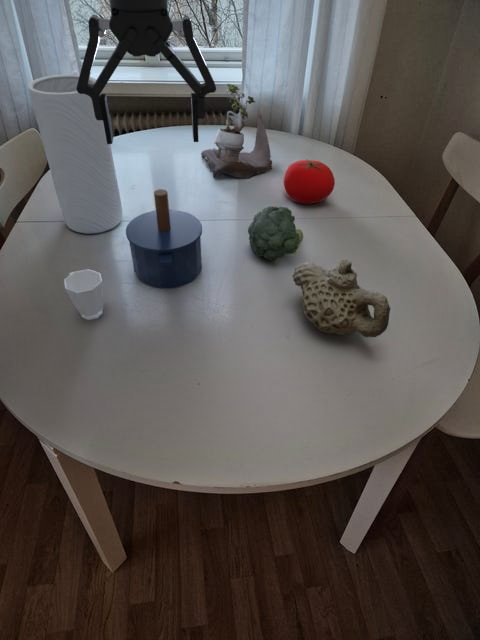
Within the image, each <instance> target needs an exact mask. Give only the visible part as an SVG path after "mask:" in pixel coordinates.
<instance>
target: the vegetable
mask: <svg viewBox="0 0 480 640" xmlns="http://www.w3.org/2000/svg"><path fill="white" fill-rule="evenodd" d="M292 213H293V212H292V210H291V209H289V208H288V207H286V206H272V205H271V206H266V207H264V208H263V209H262V211H258V212H257V213H256V214H255V215H254V217H253V219H252V221H251V223H250V224H249V226H248V228H247V232H248V235H249V236H248V240H249V247H250V250H251V251H252V253H254V254H255V255H256V256H258V257H262V256H263V257H264V258H266V259H267V260H270V261H273V262H275V261H277V260H279V259H281V258H283V256H284V255H294V254H296V252H297V249H298V248H299V245H301V243H302V242H303V240H304V233H303V231H302V230H301V228H297V227H296V224H295V219H296V216H295V215H293V214H292Z"/></svg>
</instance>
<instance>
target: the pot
mask: <svg viewBox="0 0 480 640" xmlns="http://www.w3.org/2000/svg"><path fill="white" fill-rule="evenodd" d="M201 237H202V236H201ZM201 237H200V238H199V239H198V240H197V241H196V242H195V243H194V244H192V245H190V246H189V247H186V248H184V249H181V250H177V251H172V252H151V251H146V250H143V249H140V248H138V247H136V246H134V245H133V244H131V243H130V242H129V241H128V242H129V243H128V244H129V249H130V254H131V259H132V266H133V271H134V274H135V276H136V278H137V279H138V280H139V281H140V282H141V283H142V284H144V285H146V286H148V287H152V288H156V289H163V290H164V289H165V290H166V289H176V288H180V287H183V286H186V285H189V284H191V283H192V282H193V281H194V280H196V279H197V278H198V277H199V275H200V274H201V272H202V267H203V266H202V243H201V242H202V241H201Z"/></svg>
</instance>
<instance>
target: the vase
mask: <svg viewBox="0 0 480 640" xmlns="http://www.w3.org/2000/svg"><path fill="white" fill-rule="evenodd" d="M79 76H80V74H54V75H48V76H43V77H39V78H36V79H33V80H31V81H30V82H29V83H28V84H27V89H28V93H29V97H30V100H31V104H32V105H31V106H32V108H33V112H34V115H35V119H36V120H35V121H36V122H37V127H38V130H39V135H40V138H41V142H42V145H43V149H44V153H45V156H46V160H47V163H48V167H49V171H50V174H51V179H52V182H53V185H54V186H53V187H54V190H55V194H56V197H57V201H58V205H59V208H60V211H61V214H62V217H63V219H64V222H65V225H66V227H67V228H69V229H70V230H72V231H74V232H76V233H81V234H90V235H91V234H100V233H104V232H107V231H110V230H112V229H113V228H115V227H117V226H118V225H119V224H120V223H121V222H122V220H123V218H124V217H123V215H124V214H123V207H122V199H121V193H120V189H119V183H118V178H117V172H116V167H115V166H116V165H115V161H114V157H113V151H112V144H107V140H106V134H105V129H104V123H103V120H97V119H96V118H95V114H94V108H93V103H92V99H91V97H90V96H88V95H86V94H80V93H78V92H77V89H76V88H77V84H78V80H79ZM96 80H97V78H95V77H92V76H90V77H89V81H88V83H89V84H91V85H94V83H95V82H96Z"/></svg>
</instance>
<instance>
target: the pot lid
mask: <svg viewBox="0 0 480 640" xmlns="http://www.w3.org/2000/svg"><path fill="white" fill-rule="evenodd" d="M153 197H154V206H155V210H152V211H148V212H144V213H142V214H139V215H137V216H135V217H134V218H132V219H131V220H130V221H129V222H128V224H127V225H126V228H125V235H126V239H127V241H128V242H130V243H131V244H133V245H134V246H136V247H138V248H140V249H143V250H146V251H151V252H172V251H177V250H181V249H184V248H186V247H189V246H190V245H192V244H194V243H195V242H196V241H197V240H198V239H199V238H200V237H202V235H203V225H202V222H201V221H200V219H198V218H197V217H196V216H195V215H193V214H191V213H189V212H186V211H182V210H177V209H170V205H169V195H168V191H167V190H166V189H164V188H163V189H162V188H161V189H156V190H154V191H153ZM130 243H129V244H130Z"/></svg>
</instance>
